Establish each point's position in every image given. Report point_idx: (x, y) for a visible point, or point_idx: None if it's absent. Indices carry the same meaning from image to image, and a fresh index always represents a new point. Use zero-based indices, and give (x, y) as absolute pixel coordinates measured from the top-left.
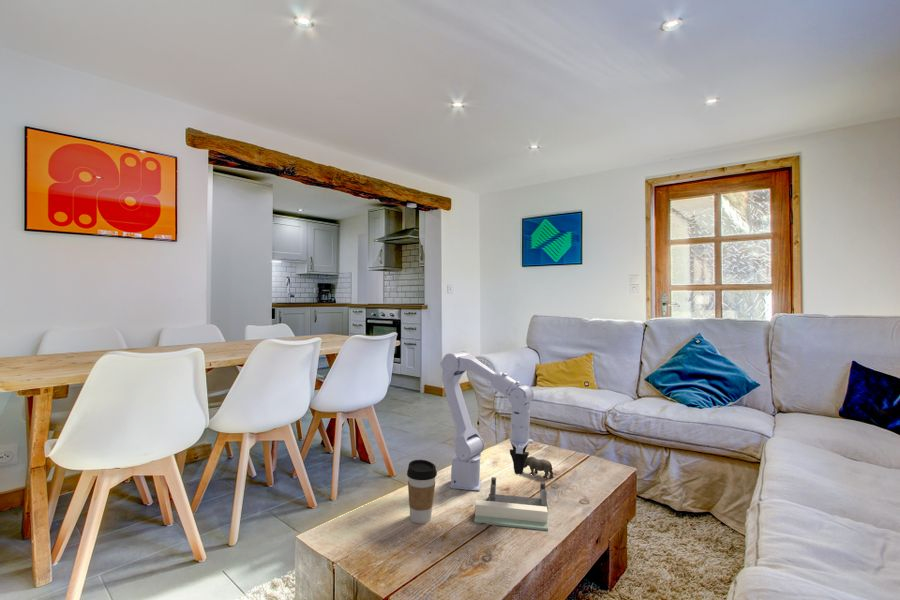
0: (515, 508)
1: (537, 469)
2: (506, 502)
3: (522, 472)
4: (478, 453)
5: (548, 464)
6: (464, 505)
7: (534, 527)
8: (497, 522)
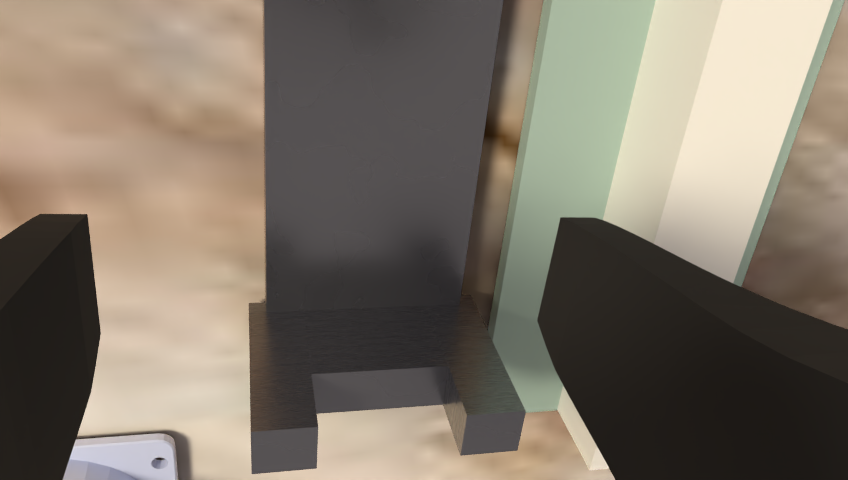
0: (771, 163)
1: None
2: (433, 206)
3: (619, 228)
4: None
5: None
6: (453, 477)
7: None
8: (745, 257)
